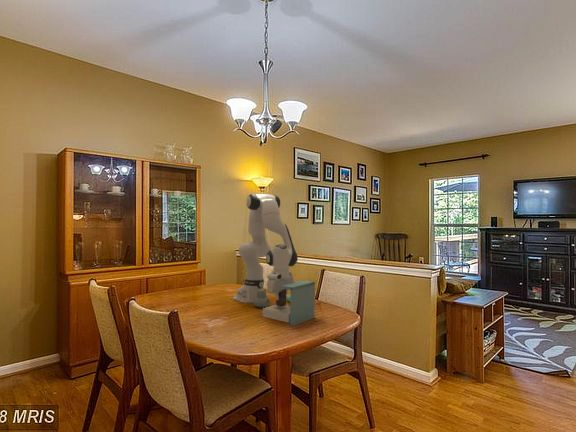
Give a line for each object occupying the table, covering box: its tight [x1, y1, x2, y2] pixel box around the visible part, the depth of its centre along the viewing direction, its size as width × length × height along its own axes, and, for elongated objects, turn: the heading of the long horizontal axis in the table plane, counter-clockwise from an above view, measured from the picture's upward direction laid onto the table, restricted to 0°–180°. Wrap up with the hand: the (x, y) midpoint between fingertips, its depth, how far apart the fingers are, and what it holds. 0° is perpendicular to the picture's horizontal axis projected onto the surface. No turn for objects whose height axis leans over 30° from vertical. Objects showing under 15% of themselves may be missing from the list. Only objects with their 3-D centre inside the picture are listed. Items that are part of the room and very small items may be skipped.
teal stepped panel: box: [281, 280, 316, 327], centre depth 184 cm, size 8×20×20 cm, turn 143°
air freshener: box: [252, 289, 271, 309], centre depth 212 cm, size 11×8×10 cm
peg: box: [275, 289, 287, 307], centre depth 191 cm, size 4×4×9 cm
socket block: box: [262, 304, 290, 324], centre depth 190 cm, size 18×14×4 cm
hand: (281, 299), depth 191 cm, fingers closed on peg, 4 cm apart
